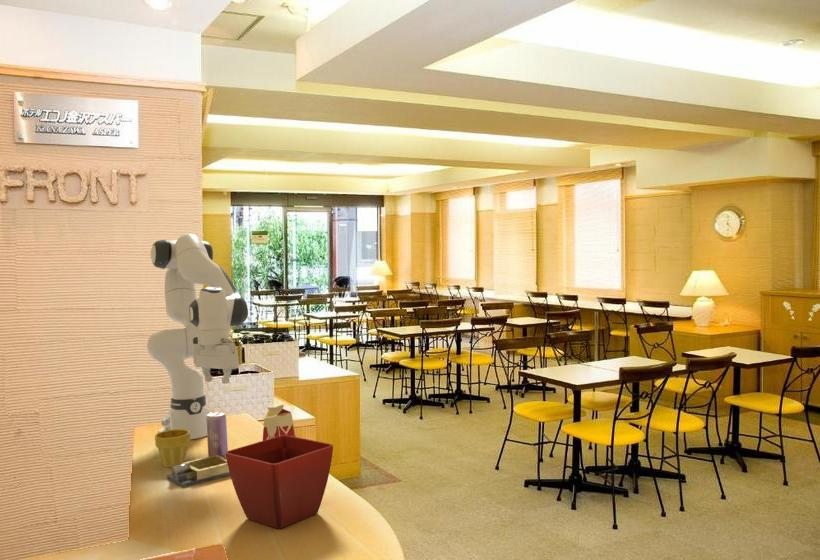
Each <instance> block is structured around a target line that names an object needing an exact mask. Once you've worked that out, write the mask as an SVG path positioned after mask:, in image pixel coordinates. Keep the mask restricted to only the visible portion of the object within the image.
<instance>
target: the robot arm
mask: <svg viewBox="0 0 820 560" xmlns="http://www.w3.org/2000/svg"><path fill="white" fill-rule="evenodd" d="M150 259H151V262H152V265H154V267H155V268H159V269H162V270H165V269H166V270H167V271H166V272H165V277H164V299H165V311H166V315H167V316H168V317H169V318H170V319H171V320H172V321H175V322H177V323H179V324H181V325H182V326H183V327H184V328H173V329H172V328H171V329H164V330H160V331H156V332H152V334H151V335H150V336H149V338H148V340H147V343H146V349H147V352H148V354H149V355H150V357H151V358H152V359H153V360H155V361H157V362H158V363H160V364H161V365H162V366H163V367H164V368H165V370H166V372H167V374H168V376H169V380H170V387H171V394H172V395H171V398H170V409H169V410H168V412H167V413H166V415H165V416H164V418H163V419H161V425H162V426H164V427H161V428H159V429H158V430H157V434H158V433H160V432H163V431H167V430H174V429H185V430H188V431H190V440H194V439H195V440H196V439H200V438H205V437H206V436H207V423H206V418H207V414H209V413H211V411H210V408H209V407H208V406H206V405H207V397H206V394H205V387H204V386H205V385H204V384H205V383H211V382H213V375H211V369H218V370H222V373H223V377H221V383H222V384H224V385H226V384H227V385H228V384H230V377H231V374H232V370H237V369H238V368H239V367H240V359H239V352H238V348H237V346H236V343H235V342H234V340H233V339H232V338H230V329H229V328H230V327H240V326H242V325H243V323H244V322H246V320H248V317H249V308H248V305H247V302H246V300H245V299H244V298H243V296H241V294H240V293H239V291H238V290H237V289H236V287H235V285H234V283H233V282H232V280H231V278H230V276H229V275H228V273H227V272H226V270H225V269H224V268H223V266H221V265H218V264H217V263H216V262H214V260H213V259H214V250H213V247H212V245H211V244H210V243H209V242H208V241H204V240H202V239H201V238H200V237H199V236H198V235H196V234H193V233H185V234H183V235H181V236H179V237H178V238H177V239H167V240H166V239H160V240H156V241H155V242H154V243H152V247H151V249H150ZM197 284H198V285H204V286H207V287H202V288H200V290H199V293H198V298H197V289H196V288H197V287H196V285H197ZM187 359H192V360H193V364H194V366H195V367H196V368H194V367H191V366H189V365H187V364H185V360H187ZM197 368H201V371H200V370H199V369H197ZM204 382H205V383H204Z"/></svg>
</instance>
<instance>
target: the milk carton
mask: <svg viewBox="0 0 820 560" xmlns="http://www.w3.org/2000/svg"><path fill="white" fill-rule="evenodd" d="M284 406H285V404H280V405H278V406H273V407H266V408H267V410H268V411H267V412H266V415H265V417H263V420H264V421H263V430H262V441H264V440H268V439H271V438H275V437H279V436H282V435H288V436H293V437H297V435H296V430H295V425H294V420H293V419H294V418H293V416H292V415H293V414H292V412H291V411H290V410H288V409H284Z"/></svg>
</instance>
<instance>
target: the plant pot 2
mask: <svg viewBox="0 0 820 560" xmlns="http://www.w3.org/2000/svg"><path fill="white" fill-rule="evenodd" d="M333 451H334V444H332V443H327V442H323V441H317V440H314V439H308V438H303V437H297V436H296V437H293V436H288V435H282V436H279V437H275V438H271V439H268V440H264V441H263V440H261V441H258V442H254V443H251V444H248V445H244V446H240V447H237V448H234V449H230V450H228V451H227V452H225V454H226V459H227V464H228V468H229V472H230V475H229V476H230V479H231V482H232V485H233V488H234V491H235V494H236V496H237V499H238V502H239V505H240V506H241V508H242V511H243V513H244V515H245V517H246V519H248V520H250V521H251V520H252V522H253V521H255V522H257V523H259V524H262V525H266V526H268V527H272V528H274V529H279V530H280V529H283V528H285V527H288V526H290V525H292V524H295V523H297V522H299V521H303V520H305V519H307V518H310V517H312V516H314V515H316V514H318V513H319V510H320V507H321V505H322V501H323V498H324V494H325V492H326V491H325V490H326V488H327V483H328V481H329V476H330V472H331V465H332V459H333Z"/></svg>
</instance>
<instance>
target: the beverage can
mask: <svg viewBox="0 0 820 560" xmlns="http://www.w3.org/2000/svg"><path fill="white" fill-rule="evenodd" d="M206 423H207V437H206V439H207V457H209V456H213V455H219V456H221V457H223V455H224V454H225V452H227V451H229V448H228V447H229V446H228V444H229V443H228V428H227V427H228V426H227V416H226V412H224V411H214V412H210V413H209V414H207V418H206Z"/></svg>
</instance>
